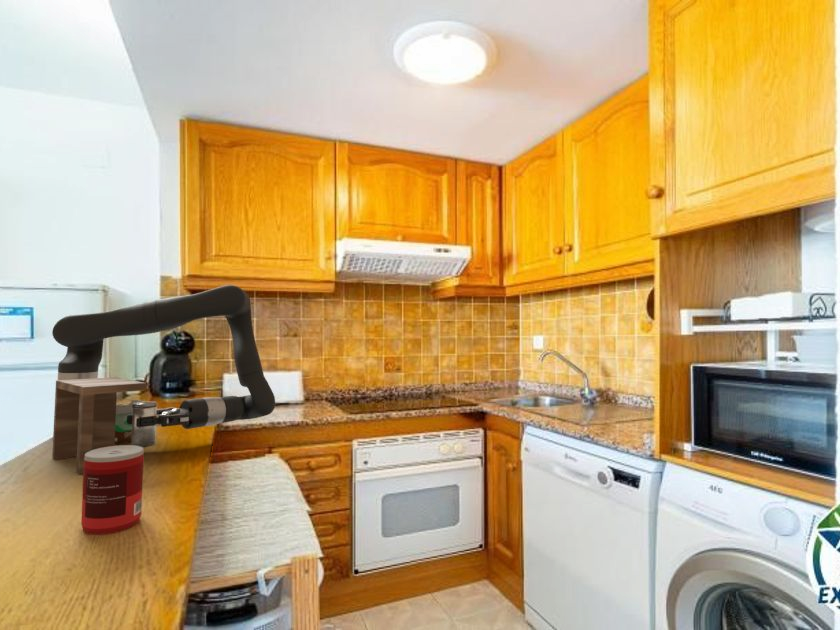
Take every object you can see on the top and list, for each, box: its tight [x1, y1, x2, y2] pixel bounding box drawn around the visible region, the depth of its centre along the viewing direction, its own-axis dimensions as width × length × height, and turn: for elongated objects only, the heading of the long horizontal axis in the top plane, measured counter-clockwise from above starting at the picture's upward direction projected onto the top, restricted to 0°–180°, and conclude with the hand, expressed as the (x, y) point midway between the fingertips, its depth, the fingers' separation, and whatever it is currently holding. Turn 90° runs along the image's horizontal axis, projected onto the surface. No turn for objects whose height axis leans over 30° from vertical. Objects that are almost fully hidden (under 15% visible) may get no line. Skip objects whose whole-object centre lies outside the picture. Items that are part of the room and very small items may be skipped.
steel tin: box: [130, 400, 158, 448], centre depth 112 cm, size 5×5×10 cm
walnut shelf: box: [51, 376, 148, 475], centre depth 105 cm, size 18×12×18 cm, turn 52°
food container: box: [115, 399, 143, 445], centre depth 124 cm, size 12×6×10 cm, turn 179°
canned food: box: [80, 444, 145, 535], centre depth 71 cm, size 8×8×11 cm
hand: (132, 421), depth 110 cm, fingers closed on steel tin, 5 cm apart
